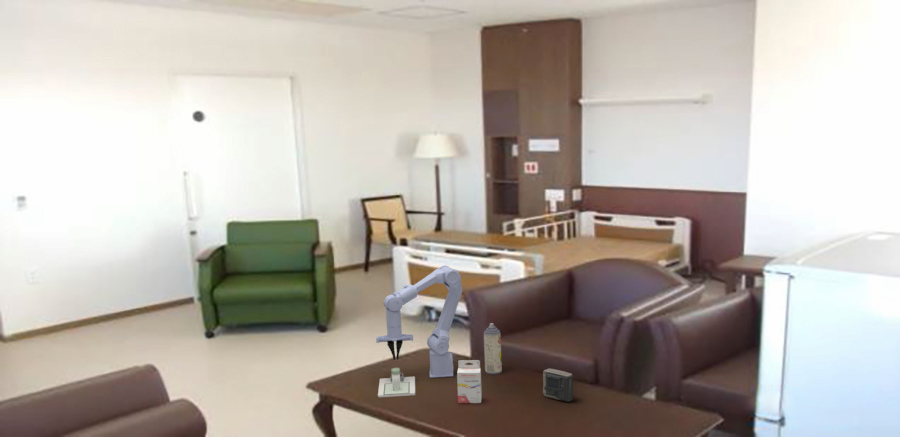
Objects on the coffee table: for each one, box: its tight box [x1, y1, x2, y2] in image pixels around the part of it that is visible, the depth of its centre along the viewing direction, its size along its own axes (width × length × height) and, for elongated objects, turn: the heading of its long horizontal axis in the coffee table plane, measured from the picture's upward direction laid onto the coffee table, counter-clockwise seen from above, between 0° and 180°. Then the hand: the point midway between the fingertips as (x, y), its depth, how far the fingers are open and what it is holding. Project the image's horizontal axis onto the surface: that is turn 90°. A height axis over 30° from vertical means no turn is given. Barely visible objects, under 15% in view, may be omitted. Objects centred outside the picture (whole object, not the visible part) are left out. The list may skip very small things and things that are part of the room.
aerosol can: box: [483, 322, 503, 375], centre depth 289 cm, size 7×7×20 cm
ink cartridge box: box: [456, 359, 483, 404], centre depth 260 cm, size 9×5×15 cm, turn 84°
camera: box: [542, 368, 574, 403], centre depth 259 cm, size 11×6×10 cm, turn 47°
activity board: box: [377, 372, 416, 398], centre depth 277 cm, size 14×18×3 cm
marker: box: [390, 367, 401, 391], centre depth 273 cm, size 3×3×8 cm
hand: (396, 358), depth 283 cm, fingers closed
